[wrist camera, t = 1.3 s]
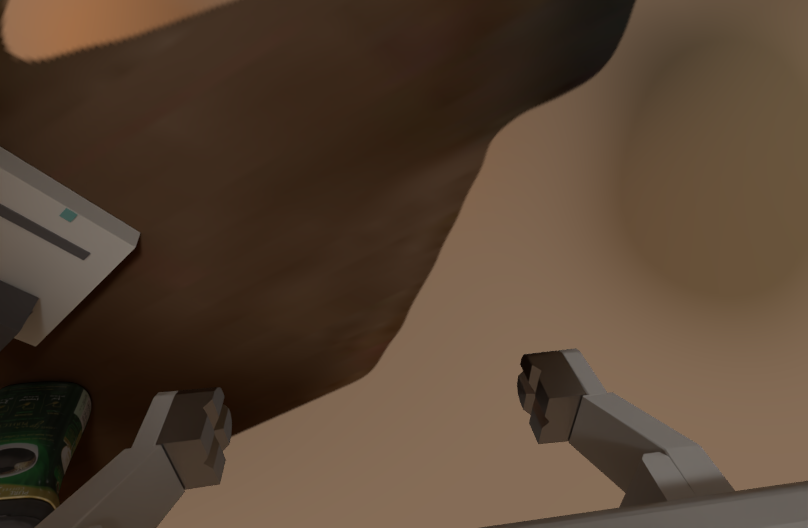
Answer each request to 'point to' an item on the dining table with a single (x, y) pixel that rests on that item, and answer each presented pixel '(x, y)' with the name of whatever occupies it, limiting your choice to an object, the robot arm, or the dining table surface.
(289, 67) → the dining table surface
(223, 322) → the dining table surface
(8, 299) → the fader
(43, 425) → the coffee jar
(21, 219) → the console
